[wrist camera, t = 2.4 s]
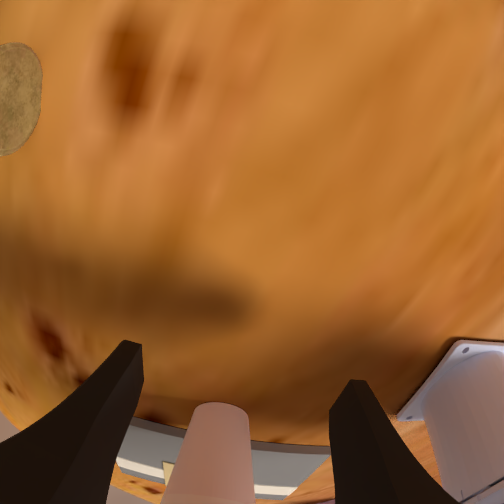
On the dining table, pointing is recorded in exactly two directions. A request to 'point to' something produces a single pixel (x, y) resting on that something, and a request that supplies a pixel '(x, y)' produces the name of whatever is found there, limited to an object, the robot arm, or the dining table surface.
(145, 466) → the board
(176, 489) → the smoothie
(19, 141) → the gavel
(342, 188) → the dining table surface
